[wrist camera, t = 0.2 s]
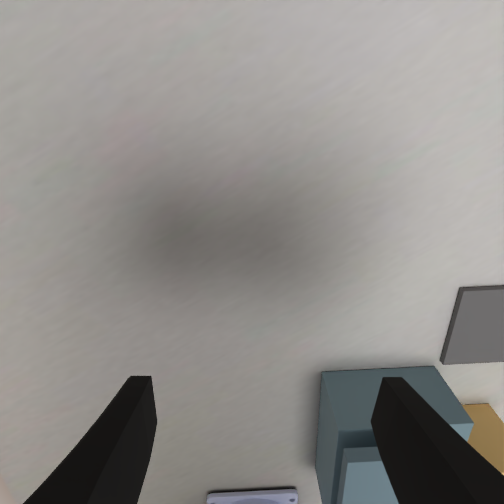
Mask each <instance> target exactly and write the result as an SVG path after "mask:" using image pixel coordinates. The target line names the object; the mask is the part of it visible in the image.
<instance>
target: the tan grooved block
mask: <svg viewBox="0 0 504 504" xmlns="http://www.w3.org/2000/svg"><path fill="white" fill-rule="evenodd" d="M462 406H463V408H464V409H465V411H466V412H467V414H468V415H469V416H470V418H471V419H472V421H473V422H474V425H473V428H472V430H471V433H470V436H469V438H468V441H467V442H468V443H469V444H470V445H471V446H472V447H473V448H474V449H475V450H476V451H477V452H478V453H480V454H481V455H482V456H483V457H484V458H485V459H486V460H487V461H488V462H489V463H491V464H492V465H493V466H494V467H495V468H496V469H497V470H498V471H500V472H501V473H502V474H503V475H504V423H503V422H502V420H501V419H500V418H499V417H498V415H497V414H496V413H495V411H494V410H493V409H492V408H491V406H490V405H489V404H470V405H462Z"/></svg>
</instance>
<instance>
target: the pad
mask: <svg viewBox="0 0 504 504" xmlns="http://www.w3.org/2000/svg"><path fill="white" fill-rule="evenodd" d="M440 361H441V362H442V364H443V365H450V364H469V363H489V362H504V286H489V287H468V288H460V290H459V293H458V297H457V301H456V304H455V308H454V312H453V315H452V319H451V323H450V326H449V330H448V334H447V337H446V341H445V345H444V348H443V352H442V356H441V359H440Z"/></svg>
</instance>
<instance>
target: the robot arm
mask: <svg viewBox="0 0 504 504" xmlns="http://www.w3.org/2000/svg"><path fill="white" fill-rule="evenodd" d="M371 425H372V429H373V433H374V437H375V440H376V444H377V447H378V451H379V454H380V457H381V460H382V463H383V465H384V468H385V470H386V473H387V475H388V478H389V480H390V483H391V486H392V488H393V491H394V493H395V496H396V498H397V500H398V503H399V504H504V475H503V474H502V473H501V472H500V471H498V470H497V469H496V468H495V467H494V466H493V465H492V464H491V463H489V462H488V461H487V460H486V459H485V458H484V457H483V456H482V455H481V454H480V453H478V452H477V451H476V450H475V449H474V448H473V447H472V446H471V445H470V444H469V443H468V442H467V441H466V440H465V439H464V438H463V437H461V436H460V435H459V434H458V433H457V432H456V431H455V430H454V429H453V428H452V427H451V426H450V425H449V424H448V423H447V422H446V421H445V420H444V419H443V418H442V417H441V416H440V415H439V414H438V413H437V412H436V411H435V410H434V409H433V408H432V407H431V406H430V405H429V404H428V403H427V402H426V401H425V400H424V399H423V398H422V397H421V396H420V395H419V394H418V393H417V392H416V391H415V390H414V389H413V388H412V387H411V386H410V384H409V383H408V382H407V381H405V380H404V379H403V378H402V377H383V378H382V381H381V385H380V389H379V392H378V396H377V400H376V403H375V407H374V410H373V414H372V418H371ZM156 426H157V416H156V408H155V401H154V393H153V386H152V378H151V376H130V377H129V378H128V379H127V381H126V382H125V383H124V385H123V386H122V388H121V389H120V390H119V392H118V393H117V394H116V396H115V397H114V398H113V400H112V401H111V402H110V404H109V405H108V406H107V408H106V409H105V410H104V412H103V413H102V414H101V415H100V417H99V418H98V419H97V420H96V422H95V423H94V424H93V425H92V427H91V428H90V429H89V430H88V432H87V433H86V434H85V435H84V436H83V438H82V439H81V440H80V441H79V443H78V444H77V445H76V446H75V447H74V448H73V450H72V451H71V452H70V453H69V454H68V455H67V456H66V458H65V459H64V460H63V461H62V462H61V463H60V464H59V465H58V467H57V468H56V469H55V470H54V471H53V472H52V473H51V475H50V476H49V477H48V478H47V479H46V480H45V481H44V482H43V483H42V484H41V485H40V486H39V487H38V489H37V490H36V491H35V492H34V493H33V494H32V495H31V496H30V497H29V498H28V499H27V500H26V501H25V502H24V503H23V504H137V502H138V499H139V495H140V492H141V488H142V485H143V482H144V478H145V475H146V471H147V468H148V465H149V461H150V457H151V452H152V447H153V442H154V437H155V431H156ZM207 504H298V493H297V491H296V490H295V489H282V490H264V491H245V492H226V493H211V494H208V496H207Z"/></svg>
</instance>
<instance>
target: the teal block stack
mask: <svg viewBox="0 0 504 504" xmlns="http://www.w3.org/2000/svg"><path fill="white" fill-rule="evenodd" d="M383 377H402V378H403V379H404V380H405V381H407V382H408V383H409V384H410V386H411V387H412V388H413V389H414V390H415V391H416V392H417V393H418V394H419V395H420V396H421V397H422V398H423V399H424V400H425V401H426V402H427V403H428V404H429V405H430V406H431V407H432V408H433V409H434V410H435V411H436V412H437V413H438V414H439V415H440V416H441V417H442V418H443V419H444V420H445V421H446V422H447V423H448V424H449V425H450V426H451V427H452V428H453V429H454V430H455V431H456V432H457V433H458V434H459V435H460V436H461V437H463V438H464V439H465V440H466V441H468V438H469V436H470V433H471V430H472V428H473V425H474V422H473V421H472V419H471V418H470V416H469V415H468V414H467V412H466V411H465V409H464V408H463V406H462V405H461V404H460V402H459V401H458V399H457V398H456V396H455V395H454V393H453V392H452V391H451V389H450V388H449V386H448V385H447V383H446V382H445V381H444V379H443V378H442V376H441V375H440V373H439V372H438V370H437V369H436V368H435V366H428V367H408V368H389V369H369V370H350V371H330V372H322V378H321V392H320V407H319V421H318V436H317V450H316V464H315V469H316V474H317V479H318V484H319V489H320V494H321V500H322V504H399V503H398V500H397V498H396V496H395V493H394V491H393V488H392V486H391V483H390V480H389V478H388V475H387V473H386V470H385V468H384V465H383V463H382V460H381V457H380V454H379V451H378V447H377V444H376V440H375V437H374V433H373V429H372V425H371V418H372V414H373V410H374V407H375V403H376V400H377V396H378V392H379V389H380V385H381V381H382V378H383Z"/></svg>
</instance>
